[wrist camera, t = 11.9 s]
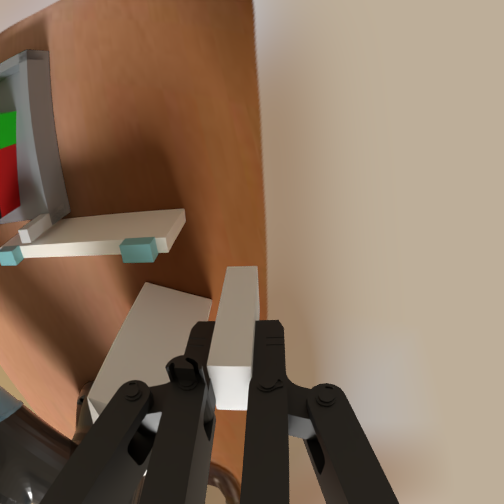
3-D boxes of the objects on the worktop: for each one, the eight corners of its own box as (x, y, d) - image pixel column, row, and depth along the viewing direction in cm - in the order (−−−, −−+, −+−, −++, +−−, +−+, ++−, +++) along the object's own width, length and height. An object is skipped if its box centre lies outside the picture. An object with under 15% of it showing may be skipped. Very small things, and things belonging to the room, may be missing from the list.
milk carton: (141, 329, 34) (84, 476, 17) (145, 280, 31) (66, 442, 14) (201, 345, 35) (169, 502, 18) (213, 298, 32) (176, 478, 15)
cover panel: (186, 222, 28) (164, 261, 22) (35, 233, 29) (-4, 265, 22) (184, 207, 27) (160, 243, 21) (31, 221, 28) (-9, 252, 22)
